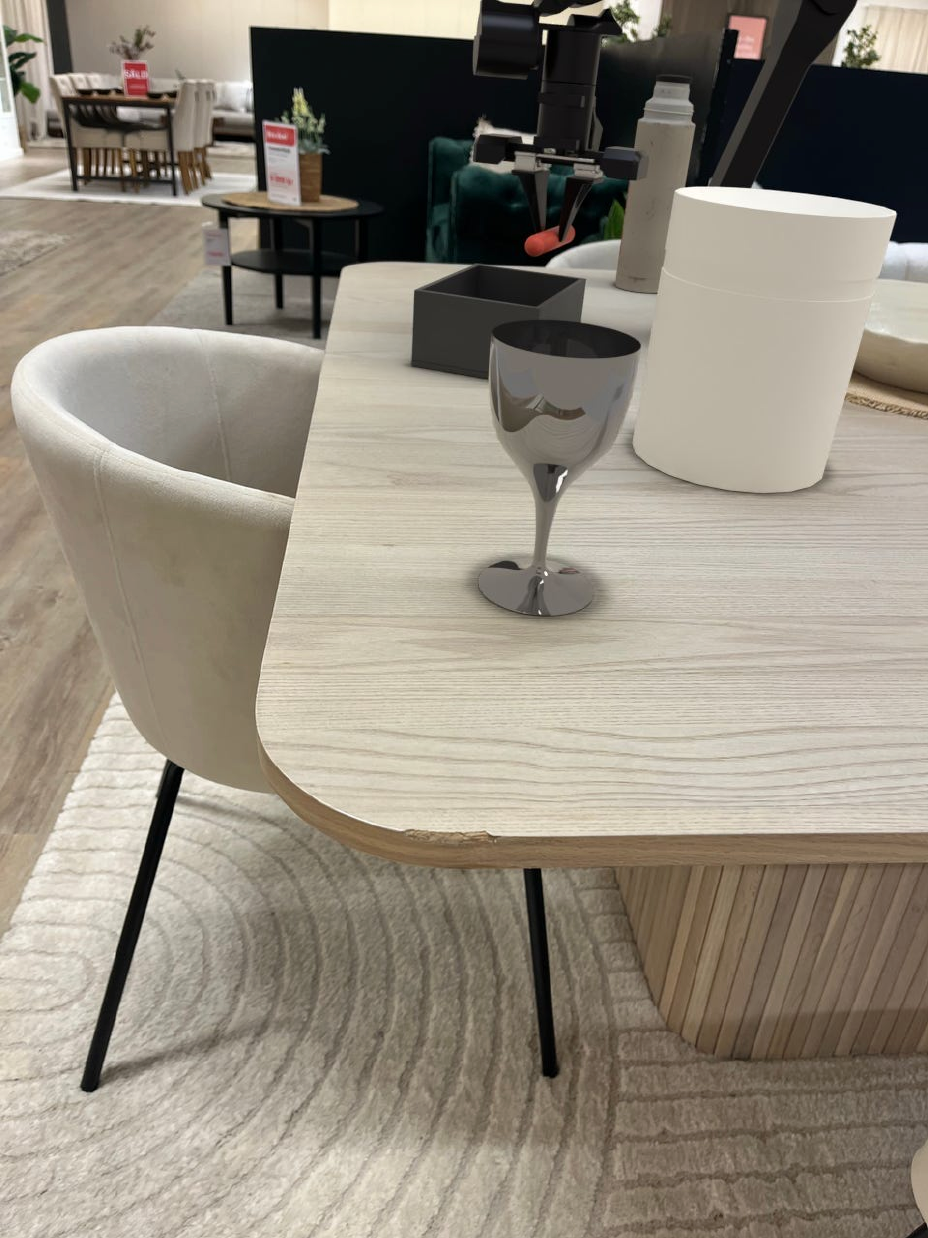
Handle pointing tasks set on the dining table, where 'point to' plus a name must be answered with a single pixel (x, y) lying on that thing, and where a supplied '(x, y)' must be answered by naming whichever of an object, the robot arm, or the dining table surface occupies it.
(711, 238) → the canister
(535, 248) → the sausage
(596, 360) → the wine glass
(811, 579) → the dining table surface
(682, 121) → the thermos bottle
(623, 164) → the robot arm
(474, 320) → the bin
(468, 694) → the dining table surface
